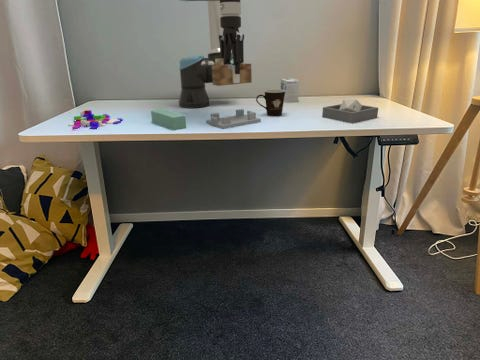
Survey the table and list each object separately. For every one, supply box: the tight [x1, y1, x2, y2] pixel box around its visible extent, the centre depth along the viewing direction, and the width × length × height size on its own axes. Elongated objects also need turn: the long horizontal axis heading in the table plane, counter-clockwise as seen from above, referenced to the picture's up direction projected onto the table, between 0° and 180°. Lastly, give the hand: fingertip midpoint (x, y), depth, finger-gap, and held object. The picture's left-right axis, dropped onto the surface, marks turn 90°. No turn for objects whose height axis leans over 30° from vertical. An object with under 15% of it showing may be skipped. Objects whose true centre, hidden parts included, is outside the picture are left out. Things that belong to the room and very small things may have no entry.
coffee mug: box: [255, 89, 285, 117], centre depth 155 cm, size 12×9×10 cm
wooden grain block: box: [212, 58, 253, 87], centre depth 138 cm, size 15×4×9 cm, turn 125°
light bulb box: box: [280, 77, 300, 104], centre depth 186 cm, size 11×7×11 cm, turn 10°
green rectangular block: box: [150, 108, 187, 131], centre depth 142 cm, size 18×5×5 cm, turn 40°
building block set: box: [68, 109, 124, 130], centre depth 149 cm, size 25×20×4 cm
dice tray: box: [322, 103, 379, 124], centre depth 149 cm, size 15×16×4 cm
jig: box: [205, 108, 262, 130], centre depth 144 cm, size 18×12×4 cm, turn 125°
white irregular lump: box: [339, 97, 363, 112], centre depth 148 cm, size 8×9×10 cm
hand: (232, 82), depth 140 cm, fingers closed on wooden grain block, 4 cm apart
